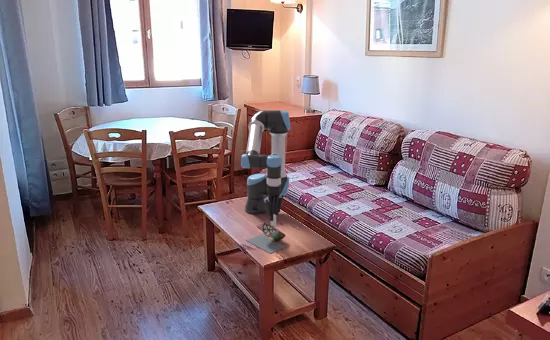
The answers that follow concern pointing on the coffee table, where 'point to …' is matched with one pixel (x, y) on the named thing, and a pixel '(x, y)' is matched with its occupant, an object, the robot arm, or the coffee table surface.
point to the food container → (272, 232)
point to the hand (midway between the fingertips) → (273, 225)
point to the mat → (265, 244)
